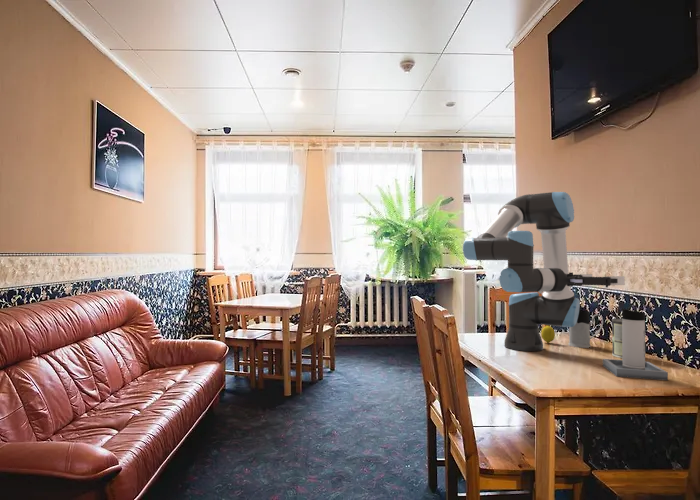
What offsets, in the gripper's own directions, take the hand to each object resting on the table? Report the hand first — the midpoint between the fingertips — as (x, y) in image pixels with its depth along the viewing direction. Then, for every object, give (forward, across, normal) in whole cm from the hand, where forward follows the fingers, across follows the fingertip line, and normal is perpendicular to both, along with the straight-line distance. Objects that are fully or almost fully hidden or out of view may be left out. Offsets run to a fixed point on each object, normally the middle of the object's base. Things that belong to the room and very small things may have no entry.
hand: (606, 279), depth 137 cm
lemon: (+12, -48, -32) cm, 59 cm away
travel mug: (+10, 0, -30) cm, 32 cm away
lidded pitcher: (+25, -41, -32) cm, 58 cm away
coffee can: (+27, -20, -32) cm, 46 cm away
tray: (+10, 0, -31) cm, 33 cm away
